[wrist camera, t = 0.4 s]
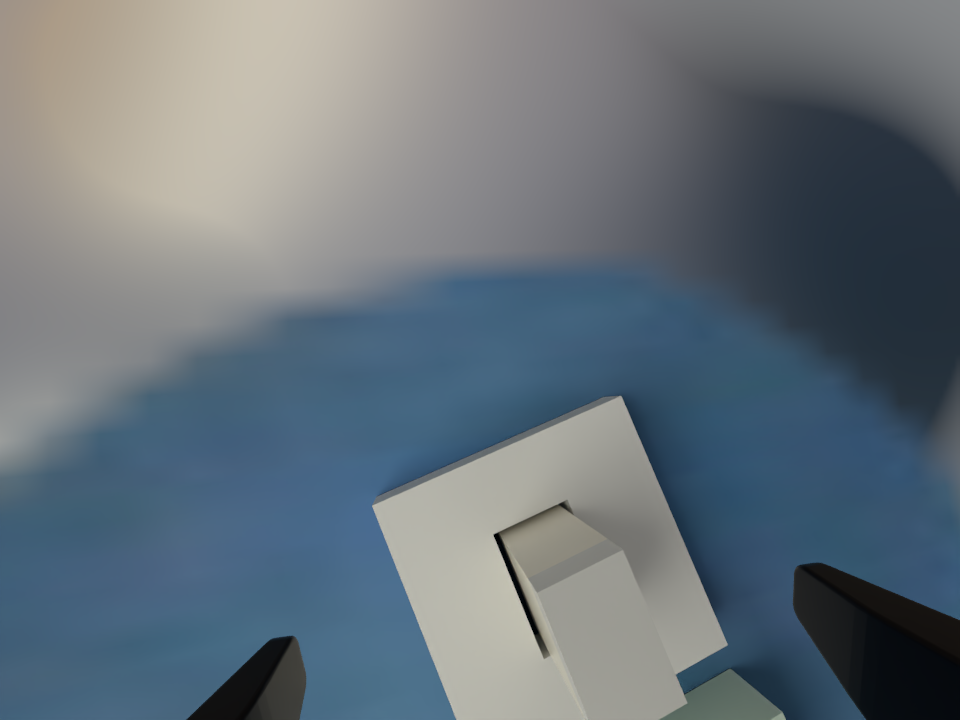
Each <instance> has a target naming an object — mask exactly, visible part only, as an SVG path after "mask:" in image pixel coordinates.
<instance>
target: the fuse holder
mask: <svg viewBox="0 0 960 720" xmlns="http://www.w3.org/2000/svg"><path fill="white" fill-rule="evenodd" d="M557 504H560V506H561V507H562V508H564V509H565V510H567V511H568V512H570V513H571V514H572V515H574V516H575V517H577V518H578V519H580V520H581V521H583V522H584V523H585V524H587V525H588V526H590V527H591V528H593V529H594V530H596V531H597V532H598V533H600V534H601V535H603V536H604V537H606V538H607V539H609V540H610V541H611V542H613V543H614V544H616V545H617V546H619V547H620V548H621V549H623V551H624V553H625V555H626V558H627V560H628V562H629V565H630V567H631V570H632V572H633V574H634V577H635V579H636V582H637V584H638V586H639V589H640V591H641V593H642V596H643V598H644V601H645V603H646V605H647V608H648V610H649V612H650V615H651V617H652V620H653V622H654V624H655V627H656V629H657V632H658V634H659V636H660V639H661V641H662V643H663V646H664V648H665V651H666V653H667V655H668V658H669V660H670V662H671V665H672V667H673V670H674V672H675V674H677V673H679V672H681V671H683V670H685V669H686V668H688V667H690V666H692V665H693V664H695V663H697V662H699V661H700V660H702V659H704V658H706V657H708V656H709V655H711V654H713V653H715V652H716V651H718V650H720V649H722V648H724V647H725V646H727V645H728V644H727V642H726V640H725V637H724V635H723V632H722V630H721V628H720V625H719V623H718V621H717V618H716V616H715V614H714V611H713V609H712V607H711V604H710V602H709V600H708V597H707V595H706V593H705V590H704V588H703V586H702V583H701V581H700V579H699V576H698V574H697V572H696V569H695V567H694V565H693V562H692V560H691V558H690V555H689V553H688V551H687V548H686V546H685V544H684V541H683V539H682V537H681V534H680V532H679V530H678V527H677V525H676V523H675V520H674V518H673V516H672V513H671V511H670V509H669V506H668V504H667V502H666V499H665V497H664V495H663V492H662V490H661V488H660V485H659V483H658V480H657V478H656V476H655V473H654V471H653V469H652V466H651V464H650V462H649V459H648V457H647V455H646V452H645V450H644V448H643V445H642V443H641V441H640V438H639V436H638V434H637V431H636V429H635V427H634V424H633V422H632V420H631V417H630V415H629V413H628V410H627V408H626V406H625V403H624V401H623V399H622V396H611V397H603V398H600V399H598V400H596V401H594V402H591V403H589V404H587V405H585V406H582V407H580V408H578V409H575V410H573V411H571V412H569V413H566V414H564V415H562V416H559V417H557V418H555V419H553V420H550V421H548V422H546V423H544V424H541V425H539V426H537V427H534V428H532V429H530V430H528V431H525V432H523V433H521V434H518V435H516V436H514V437H512V438H509V439H507V440H505V441H502V442H500V443H498V444H496V445H493V446H491V447H489V448H487V449H484V450H482V451H480V452H477V453H475V454H473V455H471V456H468V457H466V458H464V459H461V460H459V461H457V462H455V463H452V464H450V465H448V466H445V467H443V468H441V469H439V470H436V471H434V472H432V473H430V474H427V475H425V476H423V477H420V478H418V479H416V480H414V481H411V482H409V483H407V484H404V485H402V486H400V487H398V488H395V489H393V490H391V491H388V492H386V493H384V494H382V495H379V496H377V497H376V499H375V501H374V503H373V505H372V507H373V509H374V512H375V514H376V517H377V519H378V522H379V524H380V527H381V529H382V532H383V534H384V537H385V539H386V542H387V545H388V547H389V550H390V552H391V555H392V557H393V560H394V562H395V565H396V567H397V570H398V572H399V575H400V578H401V580H402V583H403V585H404V588H405V590H406V593H407V595H408V598H409V600H410V603H411V605H412V608H413V610H414V613H415V616H416V618H417V621H418V623H419V626H420V628H421V631H422V633H423V636H424V638H425V641H426V643H427V646H428V648H429V651H430V654H431V656H432V659H433V661H434V664H435V666H436V669H437V671H438V674H439V676H440V679H441V681H442V684H443V687H444V689H445V692H446V694H447V697H448V699H449V702H450V704H451V707H452V709H453V712H454V714H455V717H456V719H457V720H585V719H584V717H583V715H582V713H581V711H580V710H579V708H578V706H577V704H576V702H575V700H574V698H573V696H572V694H571V693H570V691H569V689H568V687H567V685H566V683H565V681H564V679H563V678H562V676H561V674H560V672H559V670H558V668H557V666H556V664H555V662H554V661H553V659H552V657H551V655H550V653H549V651H548V649H547V647H546V646H545V644H544V642H543V640H542V638H541V636H540V634H539V633H538V634H536V635H534V634H533V631H532V629H531V626H530V624H529V621H528V619H527V617H526V614H525V612H524V609H523V607H522V604H521V602H520V599H519V597H518V594H517V592H516V590H515V587H514V585H513V582H512V580H511V577H510V575H509V572H508V570H507V567H506V565H505V562H504V560H503V558H502V555H501V553H500V550H499V548H498V545H497V543H496V540H495V538H494V535H493V534H495V533H498V532H500V531H502V530H504V529H506V528H508V527H510V526H512V525H514V524H517V523H519V522H521V521H523V520H525V519H527V518H529V517H531V516H534V515H536V514H538V513H540V512H542V511H544V510H546V509H548V508H550V507H553V506H555V505H557Z"/></svg>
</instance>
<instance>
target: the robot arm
mask: <svg viewBox="0 0 960 720" xmlns="http://www.w3.org/2000/svg"><path fill="white" fill-rule="evenodd" d="M793 606H794V610H795V613H796V615H797V617H798V619H799V621H800V622H801V624H802V625H803V627H804V628H805V630H806V631H807V633H808V634H809V636H810V638H811V639H812V641H813V642H814V644H815V645H816V647H817V648H818V650H819V651H820V653H821V654H822V656H823V657H824V659H825V660H826V662H827V663H828V665H829V666H830V668H831V669H832V671H833V672H834V674H835V675H836V677H837V678H838V680H839V681H840V683H841V684H842V686H843V687H844V689H845V690H846V692H847V693H848V695H849V696H850V698H851V699H852V701H853V702H854V703H855V705H856V706H857V708H858V709H859V710H860V712H861V713H862V714H863V716H864V717H865V718H866V720H960V620H958V619H955V618H953V617H951V616H948V615H946V614H943V613H941V612H939V611H936V610H934V609H931V608H929V607H927V606H924V605H922V604H919V603H917V602H915V601H912V600H910V599H907V598H905V597H903V596H900V595H898V594H895V593H893V592H891V591H888V590H886V589H883V588H881V587H879V586H876V585H874V584H871V583H869V582H867V581H864V580H862V579H859V578H857V577H855V576H852V575H850V574H847V573H845V572H843V571H840V570H838V569H835V568H833V567H831V566H828V565H826V564H823V563H810V564H803V565H799V566H797V567H796V569H795V572H794V590H793ZM305 688H306V672H305V668H304V664H303V660H302V656H301V652H300V647H299V643H298V641H297V639H296V637H294V636H286V637H279V638H273V639H271V640H269V641H268V642H267V643H266V644H265V645H264V646H263V647H262V648H261V649H260V650H258V651H257V652H256V653H255V654H254V655H253V656H252V657H251V658H250V659H249V660H248V661H247V662H246V663H245V664H244V665H243V666H242V667H241V668H240V669H239V670H238V671H237V672H236V673H235V674H233V675H232V676H231V677H230V678H229V679H228V680H227V681H226V682H225V683H224V684H223V685H222V686H221V687H220V688H219V689H218V690H217V691H216V692H215V693H214V694H213V695H212V696H211V697H210V698H208V699H207V700H206V701H205V702H204V703H203V704H202V705H201V706H200V707H199V708H198V709H197V710H196V711H195V712H194V713H193V714H192V715H191V716H190V717H189V718H188V719H187V720H299V719H300V714H301V709H302V704H303V699H304V694H305Z"/></svg>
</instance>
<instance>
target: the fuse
mask: <svg viewBox="0 0 960 720" xmlns="http://www.w3.org/2000/svg"><path fill="white" fill-rule="evenodd" d="M498 536H499V538H500V541H501V543H502V546H503V548H504V551H505V553H506V556H507V558H508V560H509V563H510V565H511V568H512V570H513V573H514V575H515V578H516V580H517V583H518V585H519V587H520V590H521V592H522V595H523V597H524V600H525V602H526V605H527V607H528V610H529V612H530V614H531V617H532V619H533V622H534V624H535V627H536V629H537V630H538V632H539V634H540V636H541V638H542V640H543V642H544V644H545V646H546V647H547V649H548V651H549V653H550V655H551V657H552V659H553V661H554V662H555V664H556V666H557V668H558V670H559V672H560V674H561V676H562V678H563V679H564V681H565V683H566V685H567V687H568V689H569V691H570V693H571V694H572V696H573V698H574V700H575V702H576V704H577V706H578V708H579V710H580V711H581V713H582V715H583V717H584V719H585V720H659V719H661V718H663V717H664V716H666V715H668V714H670V713H671V712H673V711H675V710H676V709H678V708H680V707H682V706H683V705H685V704H687V701H686V698H685V696H684V693H683V691H682V689H681V686H680V684H679V681H678V679H677V677H676V674H675V672H674V670H673V667H672V665H671V662H670V660H669V658H668V655H667V653H666V651H665V648H664V646H663V643H662V641H661V639H660V636H659V634H658V632H657V629H656V627H655V624H654V622H653V620H652V617H651V615H650V612H649V610H648V608H647V605H646V603H645V601H644V598H643V596H642V593H641V591H640V589H639V586H638V584H637V582H636V579H635V577H634V574H633V572H632V570H631V567H630V565H629V562H628V560H627V558H626V555H625V553H624V551H623V549H621V548H620V547H619V546H617V545H616V544H614V543H613V542H611V541H610V540H609V539H607V538H606V537H604V536H603V535H601V534H600V533H598V532H597V531H596V530H594V529H593V528H591V527H590V526H588V525H587V524H585V523H584V522H583V521H581V520H580V519H578V518H577V517H575V516H574V515H572V514H571V513H570V512H568V511H567V510H565V509H564V508H562V507H561V506H559V505H558V504H557V505H555V506H553V507H550V508H548V509H546V510H544V511H542V512H540V513H538V514H536V515H534V516H531V517H529V518H527V519H525V520H523V521H521V522H519V523H517V524H514V525H512V526H510V527H508V528H506V529H504V530H502V531H500V532H498Z"/></svg>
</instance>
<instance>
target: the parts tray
mask: <svg viewBox="0 0 960 720" xmlns="http://www.w3.org/2000/svg"><path fill="white" fill-rule="evenodd" d="M684 696H685V698H686V701H687V704H685V705H683V706H682V707H680V708H678V709H676V710H675V711H673V712H671V713H670V714H668V715H666V716H664V717H663V718H661V719H659V720H786V719H785V716H784V714H783V712H782V711H781V710H779V709H778V708H777V707H776V706H775V705H773V704H772V703H771V702H770V701H769V700H768V699H766V698H765V697H764V696H763V695H762V694H760V693H759V692H758V691H757V690H756V689H754V688H753V687H752V686H751V685H750V684H748V683H747V682H746V681H745V680H744V679H742V678H741V677H740V676H739V675H738V674H736V673H735V672H734V671H733V670H732V669H728V670H727V671H725V672H723V673H721V674H720V675H718V676H716V677H714V678H713V679H711V680H709V681H707V682H706V683H704V684H702V685H700V686H699V687H697V688H695V689H693V690H692V691H690V692H688V693H686V694H685V695H684Z"/></svg>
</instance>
